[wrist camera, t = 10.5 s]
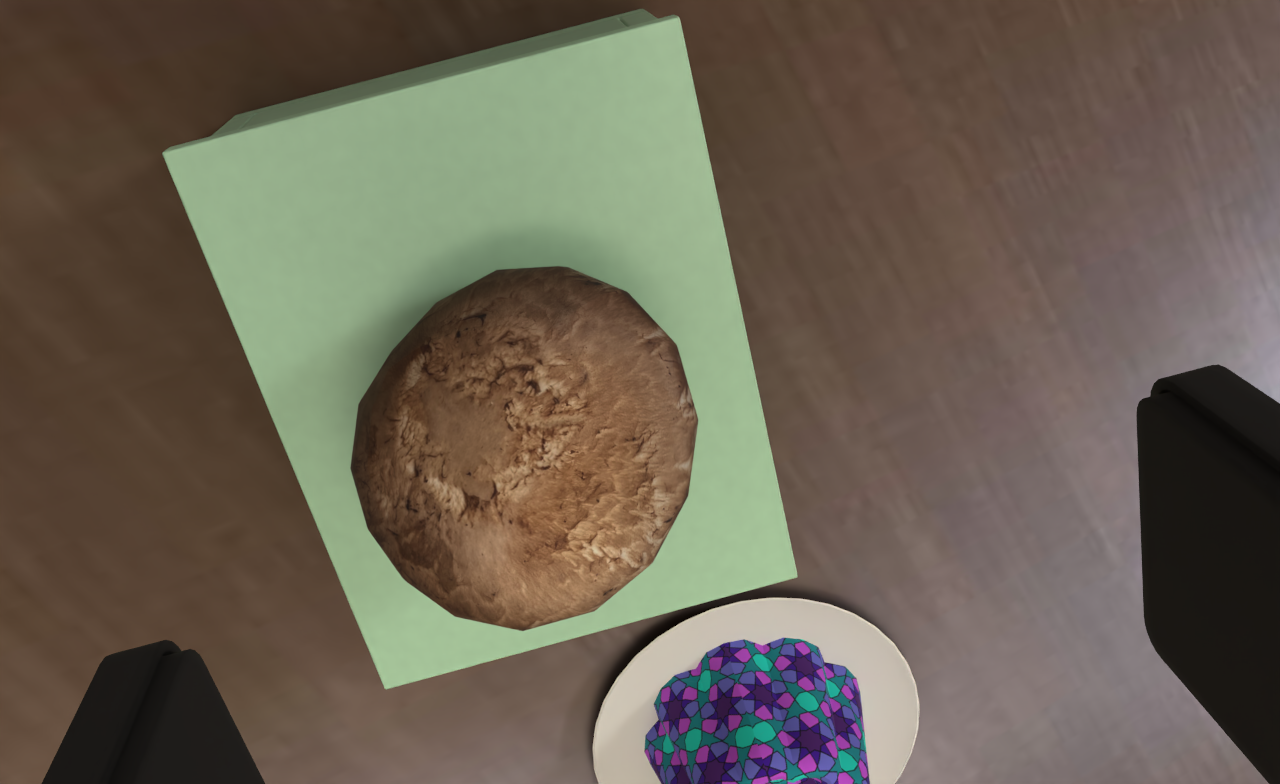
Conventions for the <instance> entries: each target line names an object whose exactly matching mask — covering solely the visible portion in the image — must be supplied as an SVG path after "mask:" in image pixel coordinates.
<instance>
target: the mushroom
mask: <svg viewBox="0 0 1280 784" xmlns="http://www.w3.org/2000/svg"><path fill="white" fill-rule="evenodd" d="M697 427H698V416H697V413H696V409H695V406H694V402H693V399H692V395H691V392H690V388H689V385H688V382H687V378H686V375H685V371H684V368H683V364H682V361H681V357H680V354H679V350H678V347H677V345H676V343H675V342H674V341H673V340H672V339H671V338H670V337H669V336H668V335H667V334H666V332H665V331H664V330H663V329H662V328H661V327H660V326H659V325H658V324H657V323H656V322H655V321H654V320H653V319H652V317H651V316H650V315H649V314H648V313H647V312H646V311H645V310H644V309H643V308H642V307H641V306H640V305H639V304H638V302H637V301H636V300H635V299H634V298H633V297H632V296H631V295H630V294H629V293H628V292H627V291H624V290H622V289H619V288H617V287H615V286H612V285H610V284H608V283H605V282H603V281H600V280H598V279H596V278H593V277H591V276H588V275H586V274H584V273H581V272H579V271H576V270H574V269H572V268H569V267H563V266H551V267H534V268H518V269H501V270H496V271H494V272H492V273H490V274H488V275H486V276H484V277H483V278H481V279H479V280H477V281H475V282H473V283H471V284H470V285H468V286H466V287H464V288H462V289H460V290H458V291H457V292H455V293H453V294H451V295H449V296H447V297H445V298H443V299H442V300H440V301H438V302H436V303H435V304H434V305H433V306H432V307H431V309H430V310H429V311H428V312H427V313H426V314H425V315H424V316H423V317H422V318H421V319H420V321H419V322H418V323H417V324H416V325H415V326H414V327H413V328H412V329H411V330H410V331H409V333H408V334H407V335H406V336H405V337H404V338H403V339H402V340H401V341H400V342H399V343H398V345H397V346H396V347H395V348H394V349H393V350H392V351H391V352H390V354H389V356H388V357H387V359H386V361H385V362H384V364H383V365H382V367H381V369H380V370H379V372H378V373H377V375H376V377H375V378H374V380H373V381H372V383H371V385H370V386H369V388H368V389H367V391H366V393H365V394H364V396H363V397H362V399H361V401H360V402H359V404H358V412H357V419H356V427H355V435H354V443H353V451H352V459H351V467H350V469H351V472H352V476H353V479H354V483H355V486H356V490H357V493H358V497H359V500H360V504H361V507H362V511H363V514H364V518H365V521H366V525H367V528H368V530H369V532H370V533H371V535H372V536H373V537H374V539H375V540H376V542H377V543H378V544H379V546H380V547H381V549H382V550H383V551H384V553H385V554H386V556H387V557H388V558H389V560H390V561H391V563H392V564H393V565H394V567H395V568H396V570H397V571H398V572H399V574H400V575H401V577H402V578H403V579H404V580H405V581H406V582H407V583H409V584H410V585H412V586H413V587H414V588H416V589H417V590H418V591H420V592H421V593H423V594H424V595H425V596H427V597H428V598H430V599H431V600H432V601H434V602H435V603H437V604H438V605H439V606H441V607H442V608H443V609H445V610H446V611H448V612H449V613H450V614H452V615H453V616H455V617H459V618H463V619H468V620H473V621H477V622H482V623H487V624H491V625H496V626H501V627H505V628H510V629H515V630H519V631H525V630H529V629H532V628H536V627H539V626H543V625H547V624H550V623H554V622H558V621H561V620H565V619H568V618H572V617H576V616H579V615H583V614H586V613H590V612H594V611H595V610H597V609H598V608H599V607H600V606H601V605H603V604H604V603H605V602H606V601H608V600H609V599H610V598H611V597H612V596H614V595H615V594H616V593H617V592H618V591H620V590H621V589H622V588H623V587H624V586H626V585H627V584H628V583H629V582H630V581H632V580H633V579H634V578H635V577H636V576H638V575H639V574H640V573H641V572H642V571H644V570H645V569H646V568H647V567H649V566H650V565H651V564H652V563H653V561H654V559H655V558H656V556H657V554H658V552H659V550H660V548H661V546H662V544H663V542H664V541H665V539H666V537H667V535H668V533H669V531H670V529H671V527H672V526H673V524H674V522H675V520H676V518H677V516H678V514H679V512H680V510H681V509H682V507H683V505H684V503H685V501H686V499H687V497H688V493H689V486H690V479H691V471H692V464H693V457H694V449H695V442H696V434H697Z"/></svg>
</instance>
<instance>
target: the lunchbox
mask: <svg viewBox="0 0 1280 784" xmlns="http://www.w3.org/2000/svg"><path fill="white" fill-rule="evenodd" d="M655 19H657V18H656V17H654V16H653V15H652V14H650V13H649V12H647V11H646V10H644V9H638V10H634V11H630V12H626V13H623V14H619V15H615V16H611V17H607V18H604V19H600V20H596V21H592V22H588V23H585V24H581V25H577V26H573V27H569V28H566V29H562V30H558V31H554V32H550V33H546V34H543V35H539V36H535V37H531V38H527V39H524V40H520V41H516V42H512V43H508V44H505V45H501V46H497V47H493V48H489V49H486V50H482V51H478V52H474V53H470V54H466V55H463V56H459V57H455V58H451V59H447V60H444V61H440V62H436V63H432V64H428V65H425V66H421V67H417V68H413V69H409V70H406V71H402V72H398V73H394V74H390V75H387V76H383V77H379V78H375V79H371V80H367V81H364V82H360V83H356V84H352V85H348V86H345V87H341V88H337V89H333V90H329V91H326V92H322V93H318V94H314V95H310V96H307V97H303V98H299V99H295V100H291V101H288V102H284V103H280V104H276V105H272V106H268V107H265V108H261V109H257V110H253V111H249V112H246V113H242V114H238V115H235V116H234V117H233V118H232V119H231V120H229V121H228V122H227V123H226V124H225V125H223V126H222V127H221V128H220V129H219V130H218V131H216V132H215V133H214V134H213V135H212V136H214V135H218V134H222V133H225V132H229V131H233V130H237V129H241V128H244V127H248V126H252V125H256V124H260V123H263V122H267V121H271V120H275V119H279V118H282V117H286V116H290V115H294V114H298V113H301V112H305V111H309V110H313V109H317V108H320V107H324V106H328V105H332V104H336V103H340V102H343V101H347V100H351V99H355V98H359V97H362V96H366V95H370V94H374V93H378V92H381V91H385V90H389V89H393V88H397V87H400V86H404V85H408V84H412V83H416V82H419V81H423V80H427V79H431V78H435V77H438V76H442V75H446V74H450V73H454V72H457V71H461V70H465V69H469V68H473V67H476V66H480V65H484V64H488V63H492V62H496V61H499V60H503V59H507V58H511V57H515V56H518V55H522V54H526V53H530V52H534V51H537V50H541V49H545V48H549V47H553V46H556V45H560V44H564V43H568V42H572V41H575V40H579V39H583V38H587V37H591V36H594V35H598V34H602V33H606V32H610V31H613V30H617V29H621V28H625V27H629V26H632V25H636V24H640V23H644V22H648V21H652V20H655Z"/></svg>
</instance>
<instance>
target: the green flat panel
mask: <svg viewBox="0 0 1280 784" xmlns="http://www.w3.org/2000/svg"><path fill="white" fill-rule="evenodd" d="M162 155H163V157H164V160H165V162H166V164H167V167H168V169H169V172H170V174H171V176H172V179H173V181H174V184H175V186H176V188H177V191H178V193H179V196H180V198H181V200H182V203H183V205H184V208H185V210H186V212H187V215H188V217H189V220H190V222H191V224H192V227H193V229H194V232H195V234H196V236H197V239H198V241H199V244H200V246H201V248H202V251H203V253H204V256H205V258H206V260H207V263H208V265H209V268H210V270H211V272H212V275H213V277H214V280H215V282H216V284H217V287H218V289H219V292H220V294H221V296H222V299H223V301H224V304H225V306H226V308H227V311H228V313H229V316H230V318H231V320H232V323H233V325H234V328H235V330H236V333H237V335H238V337H239V340H240V342H241V345H242V347H243V349H244V352H245V354H246V357H247V359H248V361H249V364H250V366H251V369H252V371H253V373H254V376H255V378H256V381H257V383H258V385H259V388H260V390H261V393H262V395H263V397H264V400H265V402H266V405H267V407H268V409H269V412H270V414H271V417H272V419H273V421H274V424H275V426H276V429H277V431H278V433H279V436H280V438H281V441H282V443H283V445H284V448H285V450H286V453H287V455H288V457H289V460H290V462H291V465H292V467H293V469H294V472H295V474H296V477H297V479H298V481H299V484H300V486H301V489H302V491H303V493H304V496H305V498H306V501H307V503H308V505H309V508H310V510H311V513H312V515H313V517H314V520H315V522H316V525H317V527H318V529H319V532H320V534H321V537H322V539H323V541H324V544H325V546H326V549H327V551H328V554H329V556H330V558H331V561H332V563H333V566H334V568H335V570H336V573H337V575H338V578H339V580H340V582H341V585H342V587H343V590H344V592H345V594H346V597H347V599H348V602H349V604H350V606H351V609H352V611H353V614H354V616H355V618H356V621H357V623H358V626H359V628H360V630H361V633H362V635H363V638H364V640H365V642H366V645H367V647H368V650H369V652H370V654H371V657H372V659H373V662H374V664H375V666H376V669H377V671H378V674H379V676H380V678H381V681H382V683H383V686H384V688H385V689H390V688H393V687H397V686H401V685H404V684H408V683H412V682H415V681H419V680H423V679H426V678H430V677H434V676H437V675H441V674H445V673H448V672H452V671H456V670H459V669H463V668H467V667H470V666H474V665H478V664H481V663H485V662H489V661H492V660H496V659H500V658H503V657H507V656H511V655H514V654H518V653H522V652H525V651H529V650H533V649H536V648H540V647H544V646H547V645H551V644H555V643H558V642H562V641H566V640H570V639H573V638H577V637H581V636H584V635H588V634H592V633H595V632H599V631H603V630H606V629H610V628H614V627H617V626H621V625H625V624H628V623H632V622H636V621H639V620H643V619H647V618H650V617H654V616H658V615H661V614H665V613H669V612H672V611H676V610H680V609H683V608H687V607H691V606H694V605H698V604H702V603H705V602H709V601H713V600H716V599H720V598H724V597H727V596H731V595H735V594H738V593H742V592H746V591H749V590H753V589H757V588H760V587H764V586H768V585H771V584H775V583H779V582H782V581H786V580H790V579H793V578H797V570H796V566H795V561H794V556H793V552H792V547H791V542H790V537H789V533H788V528H787V523H786V518H785V514H784V509H783V504H782V499H781V495H780V490H779V485H778V481H777V476H776V471H775V466H774V462H773V457H772V452H771V447H770V443H769V438H768V433H767V429H766V424H765V419H764V414H763V410H762V405H761V400H760V395H759V391H758V386H757V381H756V376H755V372H754V367H753V362H752V358H751V353H750V348H749V343H748V339H747V334H746V329H745V324H744V320H743V315H742V310H741V305H740V301H739V296H738V291H737V287H736V282H735V277H734V272H733V268H732V263H731V258H730V253H729V249H728V244H727V239H726V234H725V230H724V225H723V220H722V216H721V211H720V206H719V201H718V197H717V192H716V187H715V182H714V178H713V173H712V168H711V164H710V159H709V154H708V149H707V145H706V140H705V135H704V130H703V126H702V121H701V116H700V111H699V107H698V102H697V97H696V93H695V88H694V83H693V78H692V74H691V69H690V64H689V59H688V55H687V50H686V45H685V40H684V36H683V31H682V26H681V22H680V18H679V17H678V16H676V15H671V16H667V17H663V18H659V19H655V20H652V21H648V22H644V23H640V24H636V25H632V26H629V27H625V28H621V29H617V30H613V31H610V32H606V33H602V34H598V35H594V36H591V37H587V38H583V39H579V40H575V41H572V42H568V43H564V44H560V45H556V46H553V47H549V48H545V49H541V50H537V51H534V52H530V53H526V54H522V55H518V56H515V57H511V58H507V59H503V60H499V61H496V62H492V63H488V64H484V65H480V66H476V67H473V68H469V69H465V70H461V71H457V72H454V73H450V74H446V75H442V76H438V77H435V78H431V79H427V80H423V81H419V82H416V83H412V84H408V85H404V86H400V87H397V88H393V89H389V90H385V91H381V92H378V93H374V94H370V95H366V96H362V97H359V98H355V99H351V100H347V101H343V102H340V103H336V104H332V105H328V106H324V107H320V108H317V109H313V110H309V111H305V112H301V113H298V114H294V115H290V116H286V117H282V118H279V119H275V120H271V121H267V122H263V123H260V124H256V125H252V126H248V127H244V128H241V129H237V130H233V131H229V132H225V133H222V134H218V135H214V136H210V137H206V138H203V139H199V140H195V141H191V142H187V143H184V144H180V145H176V146H172V147H169V148H168V149H167V150H165V151H164V152H163V153H162ZM551 266H563V267H569V268H572V269H574V270H576V271H579V272H581V273H584V274H586V275H588V276H591V277H593V278H596V279H598V280H600V281H603V282H605V283H608V284H610V285H612V286H615V287H617V288H619V289H622V290H624V291H627V292H628V293H629V294H630V295H631V296H632V297H633V298H634V299H635V300H636V301H637V302H638V304H639V305H640V306H641V307H642V308H643V309H644V310H645V311H646V312H647V313H648V314H649V315H650V316H651V317H652V319H653V320H654V321H655V322H656V323H657V324H658V325H659V326H660V327H661V328H662V329H663V330H664V331H665V332H666V334H667V335H668V336H669V337H670V338H671V339H672V340H673V341H674V342H675V343H676V345H677V347H678V350H679V354H680V357H681V361H682V364H683V368H684V371H685V375H686V378H687V382H688V385H689V388H690V392H691V395H692V399H693V402H694V406H695V409H696V413H697V416H698V427H697V434H696V442H695V449H694V457H693V464H692V471H691V479H690V486H689V493H688V497H687V499H686V501H685V503H684V505H683V507H682V509H681V510H680V512H679V514H678V516H677V518H676V520H675V522H674V524H673V526H672V527H671V529H670V531H669V533H668V535H667V537H666V539H665V541H664V542H663V544H662V546H661V548H660V550H659V552H658V554H657V556H656V558H655V559H654V561H653V563H652V564H651V565H650V566H649V567H647V568H646V569H645V570H644V571H642V572H641V573H640V574H639V575H638V576H636V577H635V578H634V579H633V580H632V581H630V582H629V583H628V584H627V585H626V586H624V587H623V588H622V589H621V590H620V591H618V592H617V593H616V594H615V595H614V596H612V597H611V598H610V599H609V600H608V601H606V602H605V603H604V604H603V605H601V606H600V607H599V608H598V609H597V610H595V611H594V612H590V613H586V614H583V615H579V616H576V617H572V618H568V619H565V620H561V621H558V622H554V623H550V624H547V625H543V626H539V627H536V628H532V629H529V630H525V631H519V630H515V629H510V628H505V627H501V626H496V625H491V624H487V623H482V622H477V621H473V620H468V619H463V618H459V617H455V616H453V615H452V614H450V613H449V612H448V611H446V610H445V609H443V608H442V607H441V606H439V605H438V604H437V603H435V602H434V601H432V600H431V599H430V598H428V597H427V596H425V595H424V594H423V593H421V592H420V591H418V590H417V589H416V588H414V587H413V586H412V585H410V584H409V583H407V582H406V581H405V580H404V579H403V578H402V577H401V575H400V574H399V572H398V571H397V570H396V568H395V567H394V565H393V564H392V563H391V561H390V560H389V558H388V557H387V556H386V554H385V553H384V551H383V550H382V549H381V547H380V546H379V544H378V543H377V542H376V540H375V539H374V537H373V536H372V535H371V533H370V532H369V530H368V528H367V525H366V521H365V518H364V514H363V511H362V507H361V504H360V500H359V497H358V493H357V490H356V486H355V483H354V479H353V476H352V472H351V469H350V467H351V459H352V451H353V443H354V435H355V427H356V419H357V412H358V404H359V402H360V401H361V399H362V397H363V396H364V394H365V393H366V391H367V389H368V388H369V386H370V385H371V383H372V381H373V380H374V378H375V377H376V375H377V373H378V372H379V370H380V369H381V367H382V365H383V364H384V362H385V361H386V359H387V357H388V356H389V354H390V352H391V351H392V350H393V349H394V348H395V347H396V346H397V345H398V343H399V342H400V341H401V340H402V339H403V338H404V337H405V336H406V335H407V334H408V333H409V331H410V330H411V329H412V328H413V327H414V326H415V325H416V324H417V323H418V322H419V321H420V319H421V318H422V317H423V316H424V315H425V314H426V313H427V312H428V311H429V310H430V309H431V307H432V306H433V305H434V304H435V303H436V302H438V301H440V300H442V299H443V298H445V297H447V296H449V295H451V294H453V293H455V292H457V291H458V290H460V289H462V288H464V287H466V286H468V285H470V284H471V283H473V282H475V281H477V280H479V279H481V278H483V277H484V276H486V275H488V274H490V273H492V272H494V271H496V270H501V269H518V268H534V267H551Z"/></svg>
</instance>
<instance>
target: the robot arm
mask: <svg viewBox="0 0 1280 784" xmlns="http://www.w3.org/2000/svg"><path fill="white" fill-rule="evenodd" d="M1137 439H1138V466H1139V493H1140V520H1141V548H1142V575H1143V602H1144V620H1145V626H1146V629H1147V633H1148V635H1149V638H1150V640H1151V643H1152V645H1153V646H1154V648H1155V650H1156V652H1157V653H1158V654H1159V656H1160V657H1161V658H1162V659H1163V661H1164V662H1165V663H1166V664H1167V665H1168V666H1169V668H1170V669H1171V670H1172V671H1173V672H1174V673H1175V675H1176V676H1177V677H1178V678H1179V679H1180V680H1181V682H1182V683H1183V684H1184V685H1185V686H1186V687H1187V688H1188V690H1189V691H1190V692H1191V693H1192V694H1193V695H1194V697H1195V698H1196V699H1197V700H1198V701H1199V702H1200V704H1201V705H1202V706H1203V707H1204V708H1205V709H1206V711H1207V712H1208V713H1209V714H1210V715H1211V716H1212V718H1213V719H1214V720H1215V721H1216V722H1217V723H1218V725H1219V726H1220V727H1221V728H1222V729H1223V730H1224V732H1225V733H1226V734H1227V735H1228V736H1229V737H1230V739H1231V740H1232V741H1233V742H1234V743H1235V744H1236V746H1237V747H1238V748H1239V749H1240V750H1241V751H1242V752H1243V754H1244V755H1245V756H1246V757H1247V758H1248V759H1249V761H1250V762H1251V763H1252V764H1253V765H1254V766H1255V768H1256V769H1257V770H1258V771H1259V772H1260V773H1261V775H1262V776H1263V777H1264V778H1265V779H1266V780H1267V782H1268V783H1269V784H1280V404H1279V403H1278V402H1276V401H1275V400H1273V399H1272V398H1270V397H1269V396H1267V395H1266V394H1264V393H1263V392H1261V391H1260V390H1258V389H1257V388H1255V387H1254V386H1253V385H1251V384H1250V383H1248V382H1247V381H1245V380H1244V379H1242V378H1241V377H1239V376H1238V375H1236V374H1235V373H1233V372H1232V371H1230V370H1229V369H1227V368H1225V367H1223V366H1220V365H1211V366H1207V367H1203V368H1200V369H1196V370H1192V371H1188V372H1184V373H1181V374H1177V375H1173V376H1169V377H1165V378H1161V379H1158V380H1157V381H1156V382H1155V383H1154V385H1153V387H1152V390H1151V397H1148V398H1144V399H1142V400H1141V401H1140V402H1139V404H1138V407H1137ZM42 784H265V783H264V781H263V779H262V777H261V775H260V773H259V771H258V769H257V767H256V765H255V763H254V761H253V759H252V757H251V755H250V753H249V751H248V749H247V747H246V745H245V743H244V741H243V739H242V737H241V735H240V733H239V731H238V729H237V727H236V725H235V723H234V721H233V719H232V717H231V715H230V713H229V711H228V709H227V707H226V705H225V703H224V701H223V699H222V697H221V695H220V693H219V691H218V689H217V687H216V685H215V683H214V681H213V679H212V677H211V675H210V673H209V671H208V669H207V667H206V665H205V663H204V661H203V659H202V658H201V656H200V655H199V654H198V653H197V652H196V651H195V650H192V649H189V650H185V651H181V650H180V648H179V647H178V646H177V645H176V644H175V643H173V642H172V641H168V640H164V641H160V642H156V643H152V644H148V645H145V646H141V647H137V648H133V649H129V650H126V651H122V652H118V653H114V654H111V655H109V656H106V657H105V658H104V659H103V661H102V662H101V663H100V665H99V667H98V669H97V671H96V673H95V675H94V678H93V680H92V682H91V684H90V686H89V688H88V690H87V692H86V694H85V696H84V698H83V700H82V702H81V704H80V706H79V708H78V710H77V712H76V714H75V716H74V719H73V721H72V723H71V725H70V727H69V729H68V731H67V733H66V735H65V737H64V739H63V741H62V743H61V745H60V747H59V749H58V751H57V753H56V755H55V757H54V759H53V762H52V764H51V766H50V768H49V770H48V772H47V774H46V776H45V778H44V780H43V782H42Z"/></svg>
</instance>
